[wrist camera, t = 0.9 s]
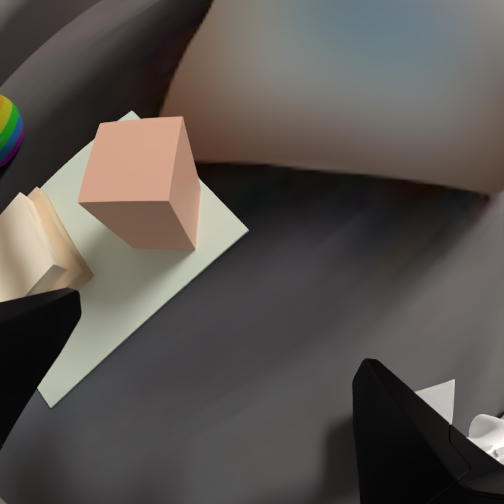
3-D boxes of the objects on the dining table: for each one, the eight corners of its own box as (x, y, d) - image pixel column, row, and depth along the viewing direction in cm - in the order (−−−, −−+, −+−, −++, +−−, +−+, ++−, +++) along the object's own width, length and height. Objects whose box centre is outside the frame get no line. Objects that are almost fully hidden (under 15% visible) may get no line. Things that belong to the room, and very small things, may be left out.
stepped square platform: (26, 347, 19) (-3, 348, 15) (-11, 263, 20) (-37, 254, 17) (94, 275, 21) (68, 265, 17) (47, 195, 22) (25, 176, 18)
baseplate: (53, 407, 18) (50, 408, 18) (-19, 263, 21) (-21, 262, 20) (248, 231, 23) (248, 229, 22) (133, 113, 25) (132, 110, 25)
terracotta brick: (195, 249, 22) (168, 200, 13) (133, 248, 22) (77, 202, 13) (201, 188, 23) (182, 116, 14) (141, 189, 23) (100, 123, 14)
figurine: (435, 442, 18) (547, 495, 4) (341, 470, 18) (421, 582, 4) (439, 371, 20) (578, 386, 5) (342, 394, 20) (462, 474, 5)
